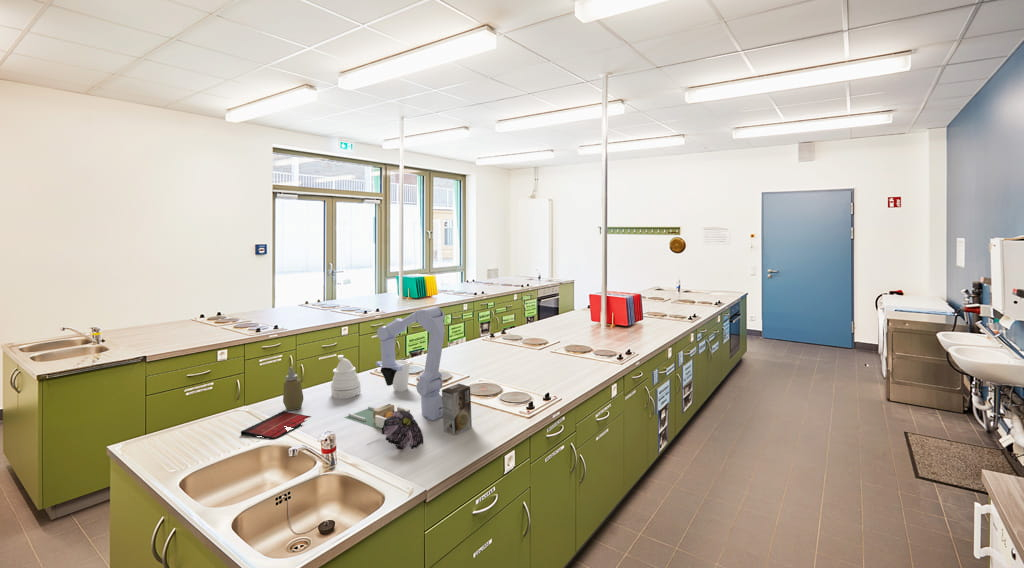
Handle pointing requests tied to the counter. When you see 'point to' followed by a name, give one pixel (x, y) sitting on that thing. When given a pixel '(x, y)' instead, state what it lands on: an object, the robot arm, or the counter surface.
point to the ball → (388, 414)
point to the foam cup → (401, 376)
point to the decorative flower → (402, 430)
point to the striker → (383, 411)
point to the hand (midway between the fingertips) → (389, 384)
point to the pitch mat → (364, 417)
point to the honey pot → (345, 380)
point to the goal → (380, 420)
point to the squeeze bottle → (292, 391)
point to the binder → (276, 425)
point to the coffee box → (456, 409)
